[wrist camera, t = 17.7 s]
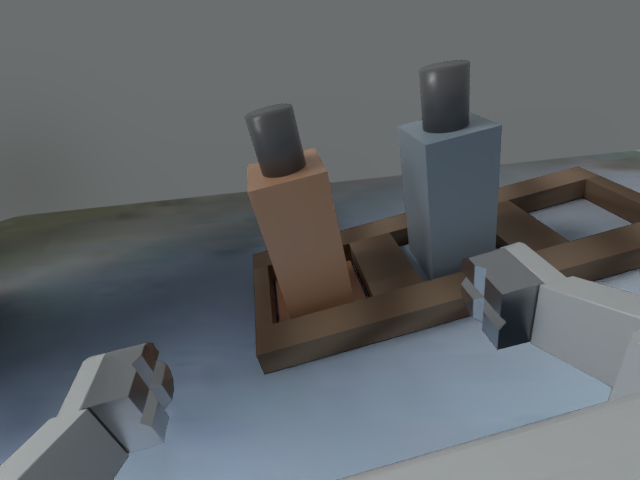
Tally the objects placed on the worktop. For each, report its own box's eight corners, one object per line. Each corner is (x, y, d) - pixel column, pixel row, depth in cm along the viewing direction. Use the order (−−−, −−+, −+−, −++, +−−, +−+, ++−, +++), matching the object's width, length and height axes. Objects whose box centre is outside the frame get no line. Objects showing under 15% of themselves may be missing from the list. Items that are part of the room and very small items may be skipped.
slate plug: (433, 284, 23) (421, 81, 17) (409, 250, 27) (392, 71, 20) (494, 267, 23) (505, 59, 17) (462, 236, 27) (462, 53, 20)
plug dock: (264, 374, 20) (256, 355, 19) (259, 270, 29) (253, 254, 28) (706, 248, 21) (716, 226, 20) (575, 184, 30) (578, 166, 29)
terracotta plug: (292, 324, 23) (226, 131, 16) (286, 284, 26) (230, 112, 20) (355, 306, 23) (314, 108, 17) (341, 269, 26) (302, 94, 20)
